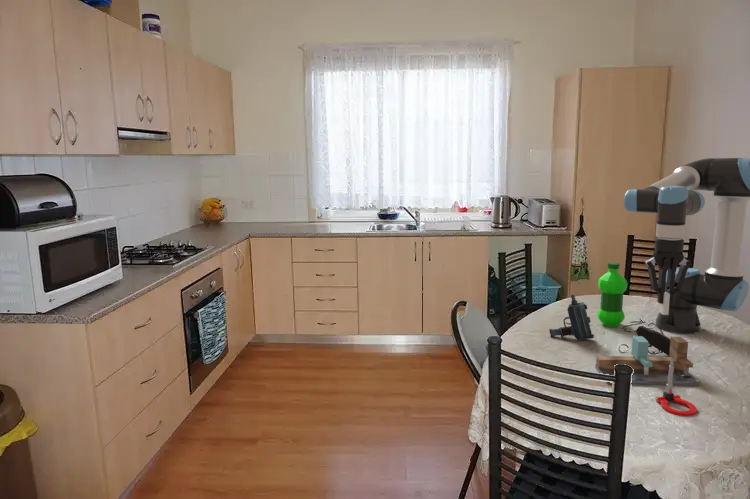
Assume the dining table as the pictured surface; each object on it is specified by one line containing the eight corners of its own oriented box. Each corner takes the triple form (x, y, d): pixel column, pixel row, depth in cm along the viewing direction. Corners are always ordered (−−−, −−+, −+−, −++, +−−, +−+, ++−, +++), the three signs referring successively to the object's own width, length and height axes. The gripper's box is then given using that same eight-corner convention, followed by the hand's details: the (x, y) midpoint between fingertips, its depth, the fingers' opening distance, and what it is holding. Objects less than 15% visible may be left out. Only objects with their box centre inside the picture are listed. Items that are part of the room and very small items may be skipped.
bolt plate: (680, 369, 167) (681, 364, 166) (699, 385, 155) (699, 381, 155) (595, 367, 170) (595, 363, 169) (607, 383, 158) (607, 379, 158)
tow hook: (703, 416, 139) (679, 398, 148) (709, 371, 136) (684, 356, 145) (674, 419, 138) (651, 401, 147) (679, 374, 135) (656, 358, 144)
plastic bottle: (620, 320, 214) (623, 260, 209) (627, 329, 203) (631, 266, 199) (594, 320, 215) (596, 260, 211) (600, 328, 205) (603, 266, 201)
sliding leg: (640, 363, 168) (642, 336, 166) (653, 377, 158) (655, 348, 157) (630, 363, 169) (632, 336, 167) (642, 376, 159) (644, 348, 157)
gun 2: (671, 374, 176) (689, 351, 172) (625, 345, 182) (641, 323, 178) (671, 371, 178) (689, 348, 174) (626, 343, 185) (642, 321, 181)
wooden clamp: (680, 364, 167) (682, 336, 165) (695, 378, 157) (698, 348, 155) (595, 363, 170) (596, 335, 168) (604, 376, 160) (606, 347, 158)
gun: (542, 299, 199) (583, 292, 193) (553, 341, 200) (594, 335, 194) (541, 301, 197) (583, 294, 190) (552, 343, 198) (594, 338, 191)
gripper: (686, 235, 160) (680, 310, 165) (642, 236, 162) (637, 309, 166) (698, 239, 153) (692, 317, 157) (651, 240, 155) (646, 317, 159)
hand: (663, 313), depth 162 cm, fingers closed
